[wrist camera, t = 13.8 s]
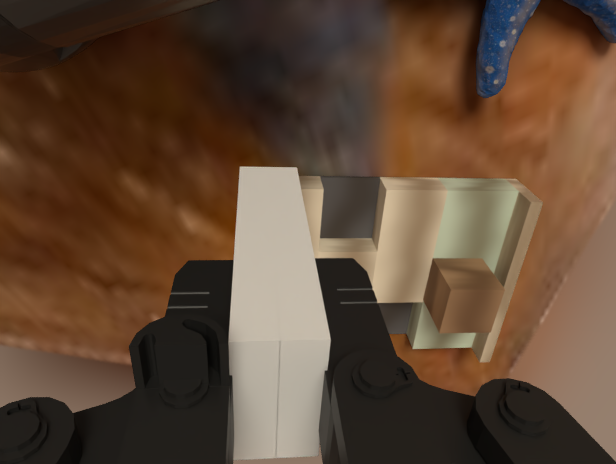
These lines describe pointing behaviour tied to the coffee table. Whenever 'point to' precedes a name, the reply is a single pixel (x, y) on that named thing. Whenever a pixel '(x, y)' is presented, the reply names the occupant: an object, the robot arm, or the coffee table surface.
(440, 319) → the walnut cube
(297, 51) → the coffee table surface
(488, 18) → the starfish
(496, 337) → the board
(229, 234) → the coffee table surface
